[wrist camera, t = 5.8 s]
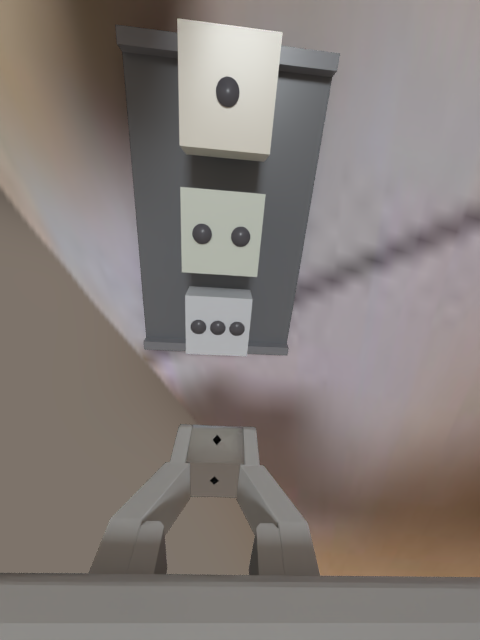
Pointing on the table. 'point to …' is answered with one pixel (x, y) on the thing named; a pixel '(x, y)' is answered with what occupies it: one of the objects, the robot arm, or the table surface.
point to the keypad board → (220, 186)
